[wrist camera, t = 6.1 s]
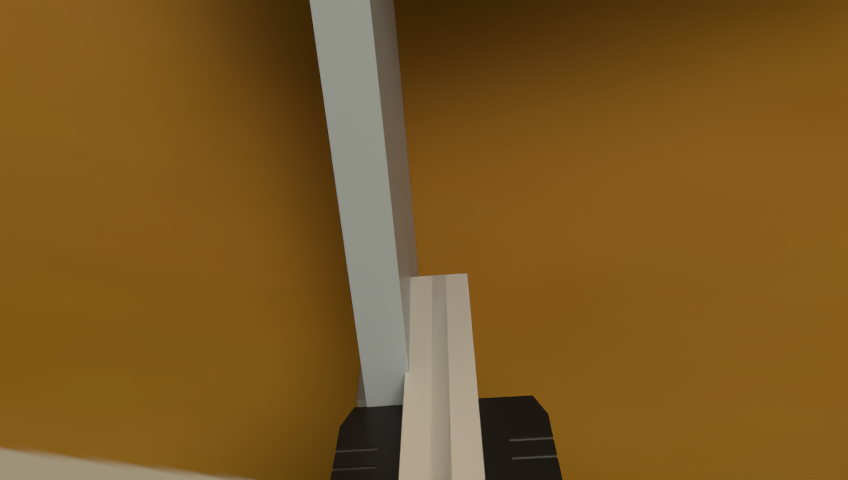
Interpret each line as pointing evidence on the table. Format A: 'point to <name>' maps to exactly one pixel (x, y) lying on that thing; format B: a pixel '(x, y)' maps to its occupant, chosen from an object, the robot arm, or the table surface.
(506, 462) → the robot arm
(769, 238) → the table surface
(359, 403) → the door
